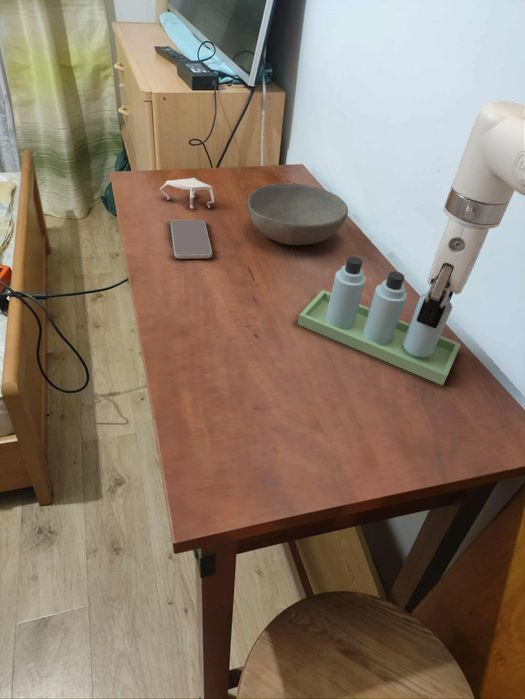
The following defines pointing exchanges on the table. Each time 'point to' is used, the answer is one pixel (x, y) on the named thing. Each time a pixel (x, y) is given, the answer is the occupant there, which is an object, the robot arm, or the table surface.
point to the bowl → (296, 213)
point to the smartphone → (190, 239)
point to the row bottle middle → (385, 309)
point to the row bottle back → (346, 294)
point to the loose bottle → (425, 331)
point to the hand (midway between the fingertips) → (431, 313)
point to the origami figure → (189, 188)
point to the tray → (392, 353)
